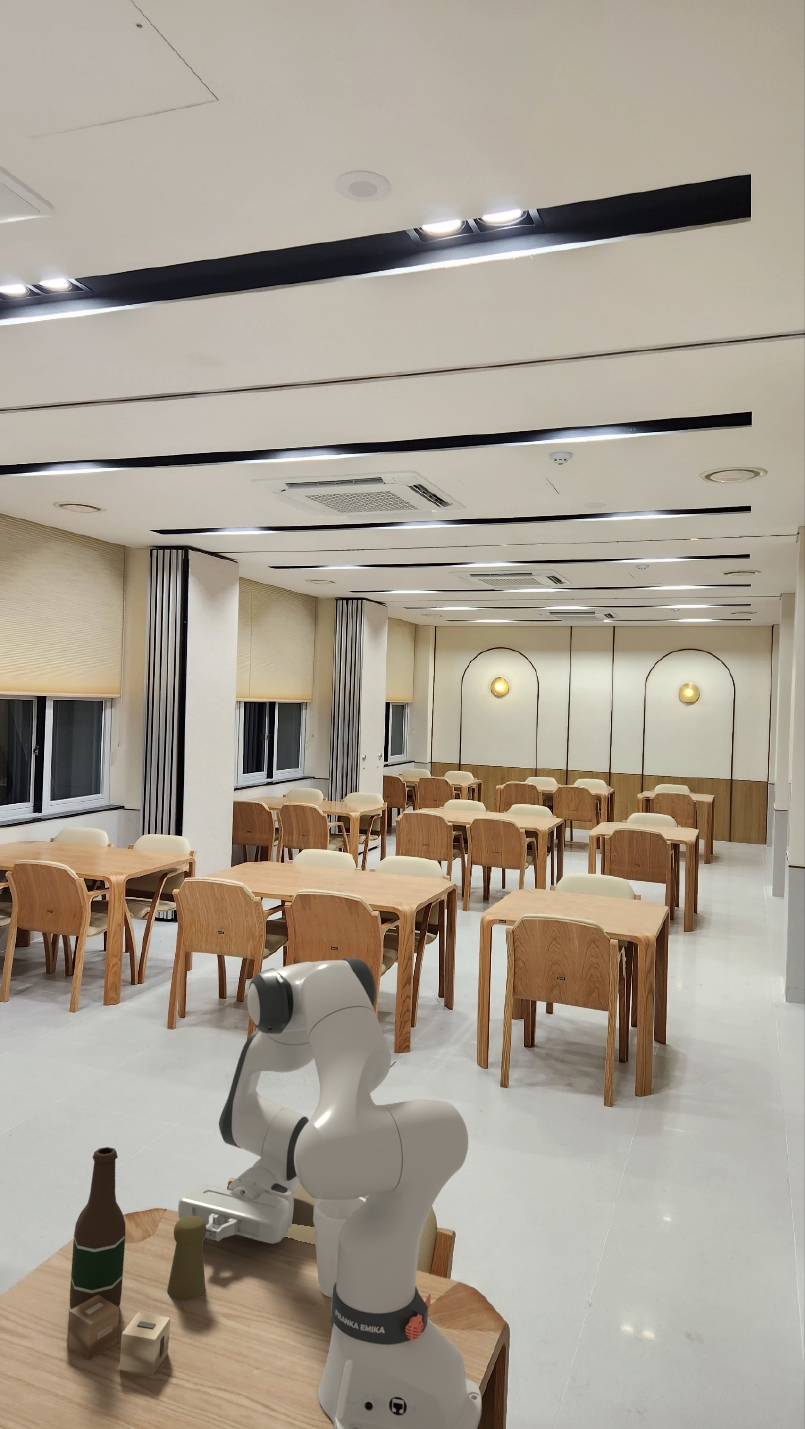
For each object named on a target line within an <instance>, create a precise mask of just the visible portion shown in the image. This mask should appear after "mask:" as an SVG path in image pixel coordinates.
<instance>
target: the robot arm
mask: <svg viewBox="0 0 805 1429" xmlns="http://www.w3.org/2000/svg"><path fill="white" fill-rule="evenodd" d="M376 998H377V988H376V981H375V977H374V974H373V971H372V969H371V968H370V966H369V965H368V964H367V963H366V962H365V961H364V960H362V959H359V958H351V957H349V958H348V957H344V958H342V959H339V960H338V959H337V960H335V959H334V960H332V959H331V960H318V961H304V962H299V963H294V964H290V965H285V966H281V967H279V968H273V967H272V968H269V969H265V970H263V971H260V972H259V973H257V974H255V975H254V977H253V978H252V980H251V981H250V982H249V986H248V991H247V1000H246V1001H247V1003H246V1004H247V1010H248V1014H249V1016H250V1018H251V1022H252V1023H253V1026H254V1027H255V1028H256V1030H254V1031H253V1032H252V1033H251V1034H250V1036H248V1038H247V1039H246V1041H245V1043H244V1045H243V1047H242V1049H241V1052H240V1055H239V1056H238V1057H239V1058H238V1060H237V1061H238V1062H237V1064H236V1068H235V1070H234V1071H235V1072H234V1074H233V1078H232V1082H231V1085H230V1089H229V1092H228V1096H227V1099H226V1101H225V1104H224V1106H223V1107H222V1111H221V1114H220V1117H219V1119H218V1129H219V1133H220V1135H221V1137H222V1139H223V1142H224V1143H225V1144H227V1145H229V1146H232V1147H236V1148H238V1149H242V1150H244V1151H247V1152H249V1153H251V1154H254V1155H256V1156H258V1157H260V1158H259V1159H257V1161H256V1162H254V1164H253V1165H252V1166H250V1167H249V1168H247V1169H246V1170H245V1171H244V1172H242V1173H241V1174H240V1175H238V1176H237V1178H235V1179H234V1180H232V1182H231V1183H230V1184H229V1185H228V1187H227V1188H224V1187H223V1188H222V1187H218V1186H215V1185H210V1184H202V1185H198V1186H196V1187H194V1188H192V1189H191V1190H189V1191H187V1192H186V1193H183V1195H182V1196H180V1198H179V1200H178V1205H177V1215H178V1216H177V1217H178V1219H179V1220H180V1219H181V1218H183V1217H186V1216H198V1217H201V1218H202V1219H203V1220H204V1221H205V1223H206V1229H207V1230H206V1235H205V1238H204V1239H208V1240H212V1241H216V1242H220V1241H221V1240H222V1239H224V1238H227V1237H231V1236H235V1235H237V1236H240V1237H244V1238H248V1239H251V1240H256V1241H259V1242H263V1243H268V1244H277V1243H279V1242H281V1241H282V1240H283V1239H284V1238H285V1237H286V1235H287V1233H288V1230H289V1229H290V1228H291V1227H292V1223H293V1217H294V1208H295V1207H294V1206H295V1204H294V1203H295V1201H294V1198H295V1197H294V1191H295V1190H296V1188H297V1187H298V1185H299V1184H300V1185H301V1187H302V1188H303V1190H304V1191H305V1192H306V1193H307V1194H308V1195H309V1196H310V1197H311V1198H313V1199H315V1200H318V1199H326V1200H350V1199H354V1198H359V1197H362V1198H364V1197H367V1198H365V1199H366V1200H365V1202H364V1203H363V1204H362V1205H361V1206H360V1207H358V1208H357V1209H356V1210H355V1211H354V1212H353V1213H352V1214H351V1215H350V1216H349V1217H348V1218H347V1220H346V1221H345V1223H344V1225H343V1227H342V1230H341V1232H340V1236H339V1248H338V1265H337V1282H336V1283H335V1284H334V1287H333V1295H332V1297H331V1304H330V1325H331V1327H332V1328H331V1329H332V1330H331V1336H330V1343H329V1349H328V1353H327V1359H326V1362H325V1366H324V1370H323V1373H322V1377H321V1378H320V1381H319V1383H318V1389H317V1397H318V1401H319V1403H320V1406H321V1407H322V1410H323V1411H324V1413H326V1415H327V1416H328V1418H330V1419H331V1421H332V1424H333V1427H334V1429H478V1427H479V1425H480V1421H481V1417H482V1409H483V1406H482V1405H483V1404H482V1402H483V1401H482V1394H481V1390H480V1389H479V1388H480V1387H479V1385H478V1384H477V1383H476V1382H474V1381H472V1380H470V1379H468V1378H467V1375H466V1367H465V1362H464V1358H463V1356H462V1353H461V1352H460V1350H459V1349H458V1347H457V1346H455V1345H454V1344H453V1343H452V1342H451V1340H449V1338H447V1337H446V1336H445V1334H443V1332H441V1331H440V1330H439V1329H438V1328H437V1327H436V1325H434V1323H433V1322H431V1321H430V1320H429V1308H430V1306H431V1297H432V1294H431V1293H429V1294H428V1295H427V1297H426V1299H425V1301H424V1298H422V1296H421V1294H420V1293H419V1290H418V1288H417V1285H416V1282H417V1270H418V1269H417V1268H418V1259H419V1250H420V1243H421V1242H420V1241H421V1237H422V1234H423V1229H424V1226H425V1224H426V1221H427V1218H428V1216H429V1214H430V1211H431V1209H432V1208H433V1205H434V1203H435V1201H436V1199H437V1197H438V1196H439V1194H440V1193H441V1191H442V1189H443V1188H444V1187H445V1185H446V1183H448V1181H449V1180H450V1179H451V1178H452V1177H453V1176H454V1175H455V1174H456V1173H457V1172H458V1171H459V1170H460V1169H461V1168H462V1167H463V1166H464V1163H465V1161H466V1158H467V1154H468V1150H469V1135H468V1133H469V1132H468V1129H467V1125H466V1122H465V1121H464V1118H463V1117H462V1115H461V1113H460V1112H459V1111H458V1109H457V1108H456V1107H455V1106H454V1105H453V1104H451V1103H450V1102H449V1101H441V1100H431V1099H412V1100H407V1101H401V1102H400V1101H399V1102H393V1103H387V1104H382V1105H381V1104H376V1103H375V1102H374V1100H373V1099H372V1096H371V1093H372V1092H373V1091H375V1090H376V1089H377V1088H378V1087H379V1086H380V1085H381V1084H382V1083H383V1082H384V1081H385V1079H386V1078H387V1076H388V1074H389V1073H390V1072H389V1071H390V1069H391V1064H392V1060H391V1059H392V1056H391V1050H390V1048H389V1046H388V1043H387V1041H386V1037H385V1035H384V1033H383V1029H382V1027H381V1025H380V1021H379V1019H378V1017H377V1016H378V1015H377V1013H376V1012H375V1011H376V1010H375V1009H374V1007H375V1005H376ZM313 1060H314V1062H315V1067H316V1072H317V1076H318V1082H319V1096H318V1097H319V1099H318V1103H317V1106H316V1109H315V1111H314V1113H313V1115H312V1116H311V1118H310V1119H309V1118H308V1117H307V1116H305V1115H303V1114H301V1113H299V1112H297V1111H294V1110H292V1109H290V1108H287V1107H284V1106H282V1105H280V1104H278V1103H275V1102H274V1101H271V1100H269V1099H266V1098H265V1097H263V1096H262V1095H260V1094H259V1093H258V1091H257V1087H258V1083H259V1080H260V1077H261V1073H262V1072H274V1073H282V1074H283V1073H290V1072H294V1071H299V1070H300V1069H302V1068H304V1067H305V1066H307V1065H309V1064H310V1063H311V1062H312V1061H313Z"/></svg>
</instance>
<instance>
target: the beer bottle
mask: <svg viewBox="0 0 805 1429" xmlns="http://www.w3.org/2000/svg"><path fill="white" fill-rule="evenodd" d="M92 1159H93V1169H92V1176H91V1184H90V1191H89V1195H88V1200H87V1203H86V1205H85V1206H84V1207H83V1209H82V1211H80V1213H79V1215H78V1218H77V1220H76V1223H75V1227H74V1234H73V1242H72V1244H73V1245H72V1256H71V1257H72V1259H71V1269H70V1270H71V1273H70V1285H69V1287H70V1288H69V1307H70V1310H71V1309H73V1308H75V1307H77V1306H78V1305H80V1304H82V1303H84V1302H86V1301H87V1300H89V1299H91V1298H93V1297H95V1296H97V1295H99V1296H101V1297H103V1298H104V1299H106V1300H108V1301H109V1302H111V1303H112V1304H114V1305H116V1306H117V1307H119V1308H120V1305H121V1301H122V1293H123V1292H122V1290H123V1277H124V1276H123V1275H124V1263H125V1261H124V1260H125V1249H126V1248H125V1245H126V1244H125V1243H126V1221H125V1217H124V1214H123V1211H122V1209H121V1208H120V1205H119V1204H118V1202H117V1198H116V1160H117V1159H118V1153H117V1150H116V1149H115V1148H112V1147H110V1146H109V1147H108V1146H106V1147H100V1148H98V1149H97V1150H95V1151H94V1152H93V1155H92Z"/></svg>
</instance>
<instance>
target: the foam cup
mask: <svg viewBox="0 0 805 1429" xmlns="http://www.w3.org/2000/svg"><path fill="white" fill-rule="evenodd" d="M366 1199H367V1198H364V1197H359V1198H354V1199H350V1200H326V1199H316V1200H315V1202H314V1205H313V1213H312V1214H313V1217H312V1222H313V1224H314V1237H315V1238H314V1240H315V1252H316V1254H315V1255H316V1267H317V1268H316V1271H317V1284H318V1289H319V1291H320V1292H321V1294H323V1295H325V1296H326V1297H328V1298H332V1295H333V1287H334V1284H335V1283H336V1282H337V1265H338V1248H339V1236H340V1232H341V1230H342V1227H343V1225H344V1223H345V1221H346V1220H347V1218H348V1217H349V1216H350V1215H351V1214H352V1213H353V1212H354V1211H355V1210H356V1209H357V1208H358V1207H360V1206H361V1205H362V1204H363V1203H364V1202H365V1200H366Z"/></svg>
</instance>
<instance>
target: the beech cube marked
mask: <svg viewBox="0 0 805 1429" xmlns="http://www.w3.org/2000/svg"><path fill="white" fill-rule="evenodd" d="M170 1325H171V1317H168V1316H167V1317H166V1316H161V1315H156V1314H149V1313H145V1312H144V1313H143V1312H140V1311H139V1312H137V1313H136V1314H135V1315H134V1317H133V1319H131V1320H130V1322H129V1324H128V1325H127V1326H126V1328H125V1329H124V1330H123V1331H122V1333H121V1341H120V1342H121V1343H120V1356H119V1367H118V1368H119V1369H118V1370H120V1371H124V1372H125V1371H126V1372H130V1373H135V1374H141V1375H147V1376H152V1377H153V1376H154V1374H155V1373H156V1372H157V1370H158V1368H159V1366H160V1365H161V1364H162V1362H163V1361H164V1359H165V1357H166V1356H167V1355H168V1353H169V1342H170V1341H169V1340H170V1328H171V1326H170Z"/></svg>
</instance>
